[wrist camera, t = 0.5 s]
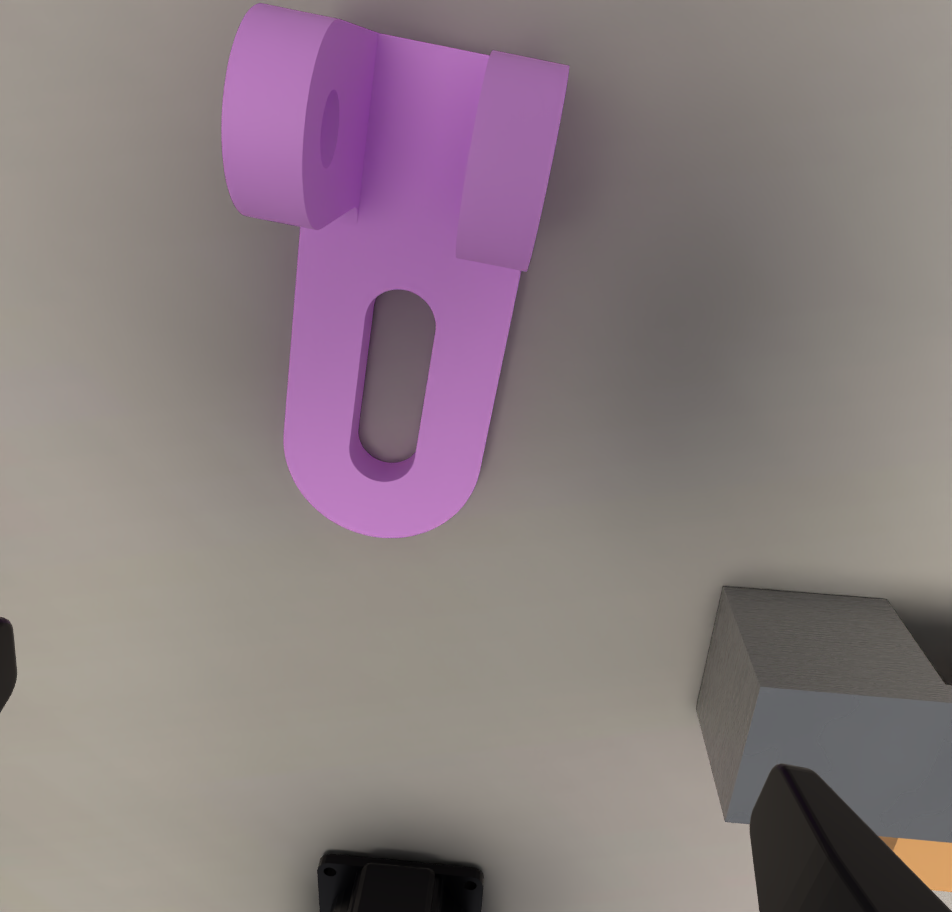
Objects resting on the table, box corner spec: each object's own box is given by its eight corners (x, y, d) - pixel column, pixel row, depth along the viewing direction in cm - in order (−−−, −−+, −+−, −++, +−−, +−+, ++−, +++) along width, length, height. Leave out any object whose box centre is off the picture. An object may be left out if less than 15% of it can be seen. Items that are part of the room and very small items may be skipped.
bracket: (331, 25, 18) (226, -9, 12) (560, 72, 19) (573, 62, 12) (290, 495, 24) (203, 638, 18) (466, 529, 24) (442, 684, 18)
